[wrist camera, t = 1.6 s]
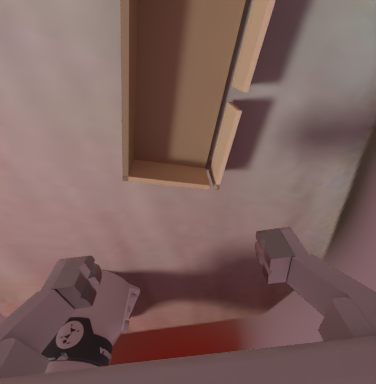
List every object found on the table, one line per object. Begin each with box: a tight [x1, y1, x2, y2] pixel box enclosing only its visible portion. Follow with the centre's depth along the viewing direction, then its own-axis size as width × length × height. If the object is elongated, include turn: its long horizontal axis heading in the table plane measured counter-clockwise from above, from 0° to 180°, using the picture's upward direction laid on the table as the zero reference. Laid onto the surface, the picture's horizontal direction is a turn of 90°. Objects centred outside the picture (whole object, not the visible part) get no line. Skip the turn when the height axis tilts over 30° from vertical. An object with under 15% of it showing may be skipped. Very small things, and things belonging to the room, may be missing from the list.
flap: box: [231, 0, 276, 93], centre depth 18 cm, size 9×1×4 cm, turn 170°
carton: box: [120, 0, 246, 190], centre depth 20 cm, size 20×10×5 cm, turn 170°
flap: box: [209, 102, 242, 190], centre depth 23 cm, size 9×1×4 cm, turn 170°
